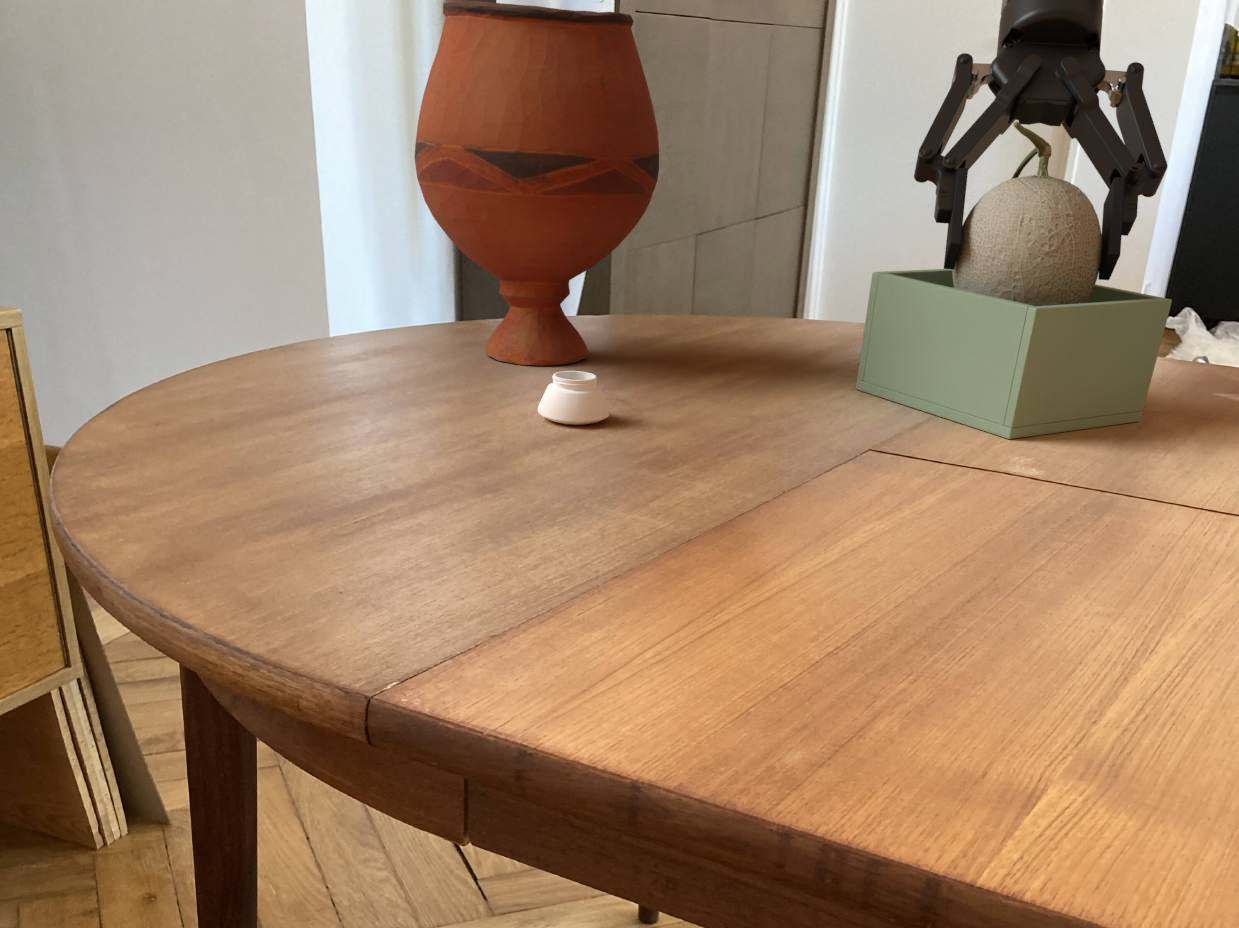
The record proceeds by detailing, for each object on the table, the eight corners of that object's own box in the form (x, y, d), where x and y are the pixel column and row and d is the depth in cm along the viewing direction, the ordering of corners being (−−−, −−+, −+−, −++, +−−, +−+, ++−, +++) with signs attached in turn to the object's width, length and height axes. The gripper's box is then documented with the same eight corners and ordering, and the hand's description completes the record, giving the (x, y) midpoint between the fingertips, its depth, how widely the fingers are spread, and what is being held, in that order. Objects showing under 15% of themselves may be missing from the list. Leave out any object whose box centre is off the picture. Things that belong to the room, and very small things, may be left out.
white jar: (577, 407, 91) (523, 415, 88) (578, 365, 90) (524, 372, 87) (623, 421, 88) (569, 431, 85) (625, 378, 87) (570, 386, 84)
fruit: (1045, 331, 102) (1090, 120, 94) (1102, 361, 92) (1157, 128, 84) (920, 326, 101) (955, 113, 93) (964, 356, 91) (1007, 121, 83)
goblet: (395, 370, 99) (379, -8, 86) (450, 327, 115) (444, 4, 102) (635, 388, 98) (656, 6, 84) (656, 342, 114) (676, 16, 101)
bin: (1140, 421, 97) (1172, 299, 92) (1009, 439, 90) (1036, 308, 85) (982, 376, 108) (1003, 266, 104) (855, 389, 101) (872, 271, 97)
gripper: (1189, 62, 98) (1175, 307, 93) (893, 47, 101) (865, 284, 96) (1226, -24, 91) (1213, 236, 86) (906, -37, 93) (876, 214, 89)
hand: (1030, 262), depth 91 cm, fingers closed on fruit, 10 cm apart
